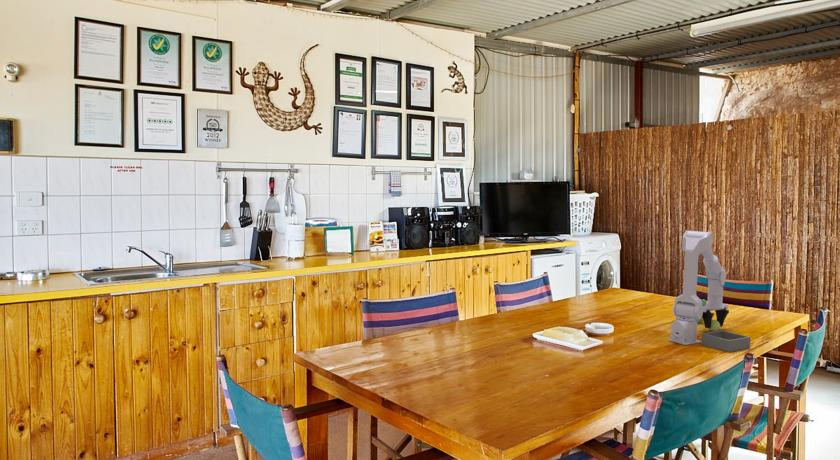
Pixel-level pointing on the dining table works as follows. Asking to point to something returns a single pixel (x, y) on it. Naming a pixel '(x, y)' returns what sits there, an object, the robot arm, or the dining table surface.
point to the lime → (714, 325)
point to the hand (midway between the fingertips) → (713, 327)
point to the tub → (725, 341)
